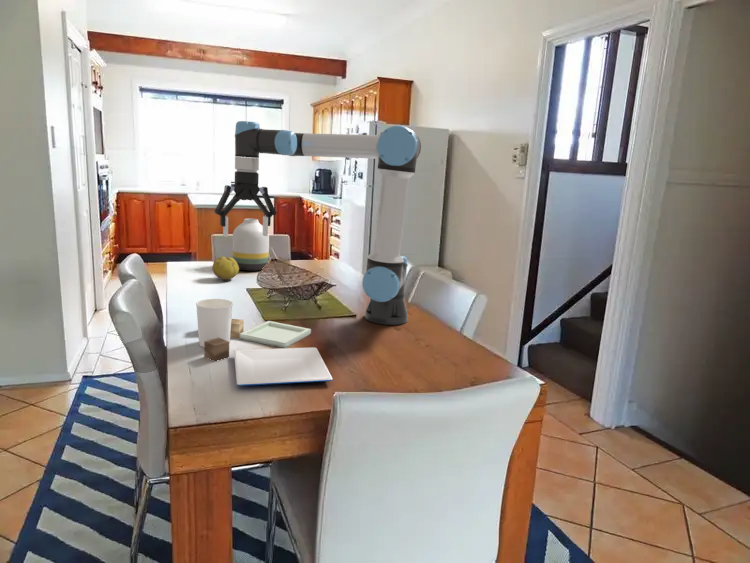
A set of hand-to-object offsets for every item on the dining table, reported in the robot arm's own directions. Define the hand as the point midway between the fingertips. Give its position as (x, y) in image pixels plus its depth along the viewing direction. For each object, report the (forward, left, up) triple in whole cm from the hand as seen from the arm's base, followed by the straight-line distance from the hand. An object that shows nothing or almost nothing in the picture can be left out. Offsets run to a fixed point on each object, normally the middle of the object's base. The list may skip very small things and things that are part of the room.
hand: (245, 236), depth 174 cm
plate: (-37, +37, -27) cm, 59 cm away
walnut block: (-18, +38, -27) cm, 50 cm away
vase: (+41, -63, -27) cm, 80 cm away
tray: (-22, +15, -27) cm, 38 cm away
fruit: (+36, -37, -27) cm, 58 cm away
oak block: (-11, +21, -27) cm, 36 cm away
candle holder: (-11, +30, -27) cm, 42 cm away
